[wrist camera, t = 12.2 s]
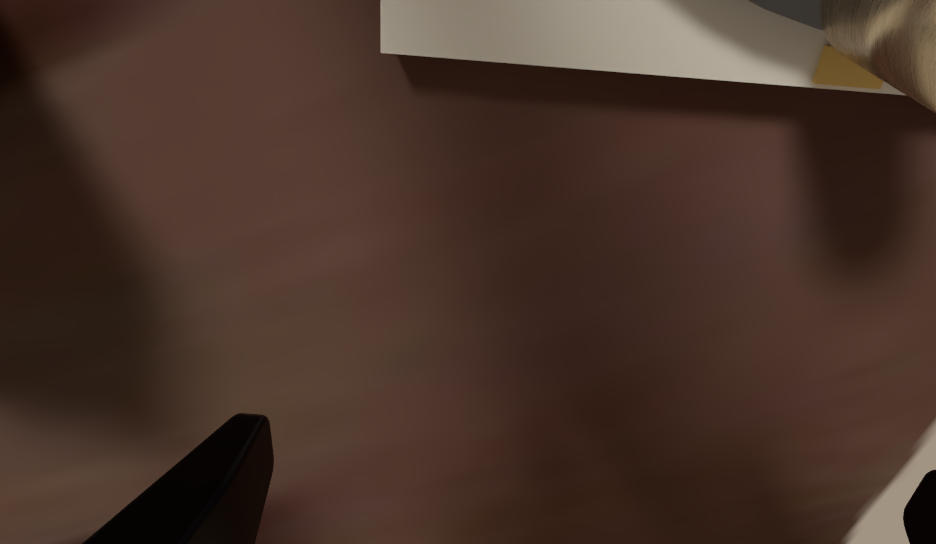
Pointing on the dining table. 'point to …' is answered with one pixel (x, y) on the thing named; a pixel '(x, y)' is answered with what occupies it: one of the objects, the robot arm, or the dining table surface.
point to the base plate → (627, 39)
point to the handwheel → (876, 37)
